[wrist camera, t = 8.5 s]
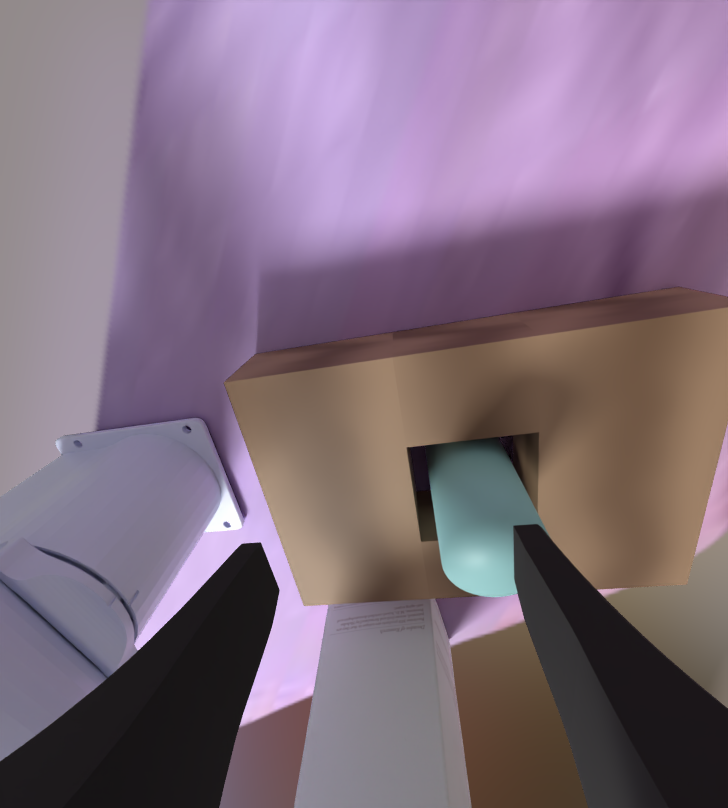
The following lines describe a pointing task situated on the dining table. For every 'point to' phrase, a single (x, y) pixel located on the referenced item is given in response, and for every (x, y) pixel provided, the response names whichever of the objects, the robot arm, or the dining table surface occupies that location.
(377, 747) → the supplement box
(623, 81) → the dining table surface
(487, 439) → the peg
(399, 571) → the socket block
